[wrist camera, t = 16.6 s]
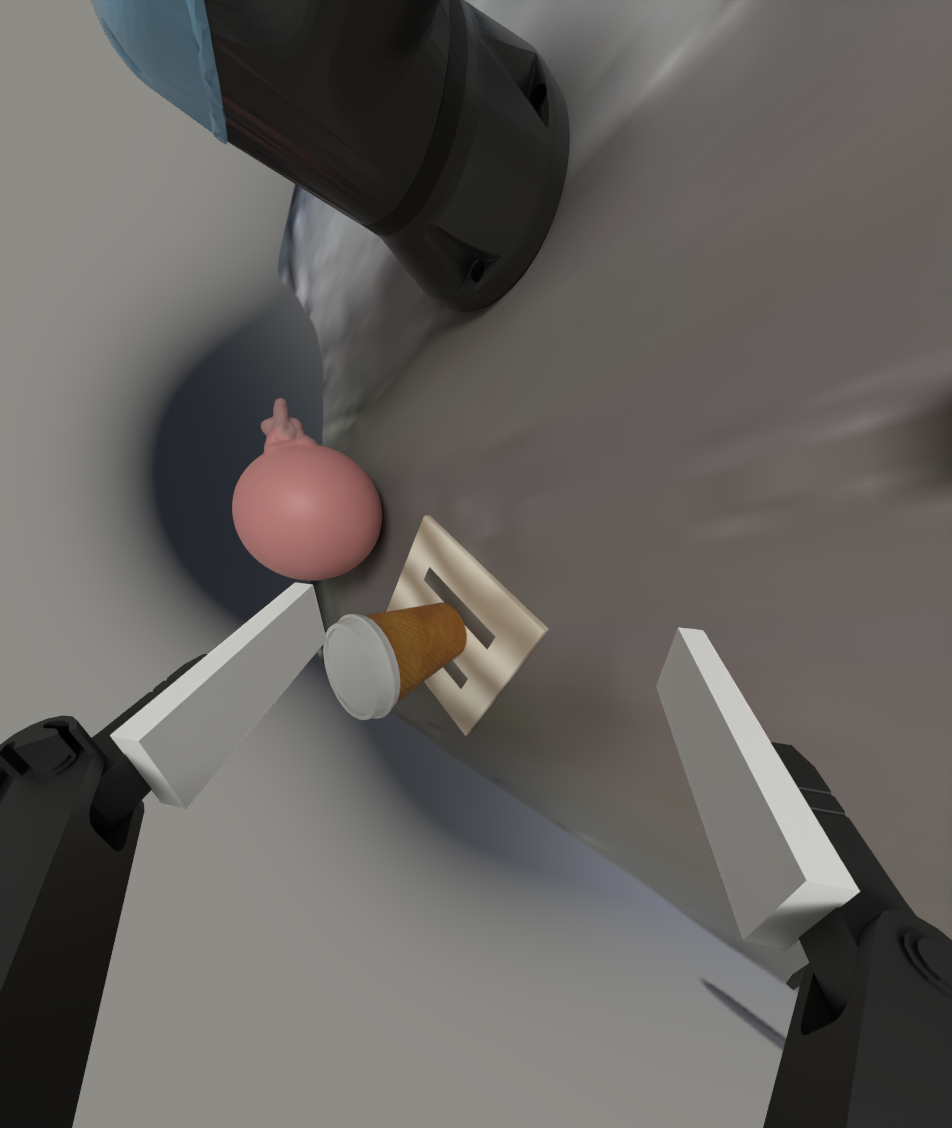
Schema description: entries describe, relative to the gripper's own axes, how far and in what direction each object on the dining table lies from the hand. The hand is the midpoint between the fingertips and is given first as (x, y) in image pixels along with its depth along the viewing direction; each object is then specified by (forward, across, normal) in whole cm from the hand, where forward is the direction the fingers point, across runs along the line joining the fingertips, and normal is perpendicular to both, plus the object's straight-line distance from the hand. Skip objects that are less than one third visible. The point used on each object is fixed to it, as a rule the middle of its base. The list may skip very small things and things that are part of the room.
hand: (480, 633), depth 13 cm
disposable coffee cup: (+20, -7, -17) cm, 27 cm away
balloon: (+32, -20, -6) cm, 38 cm away
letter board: (+21, -7, -17) cm, 27 cm away
